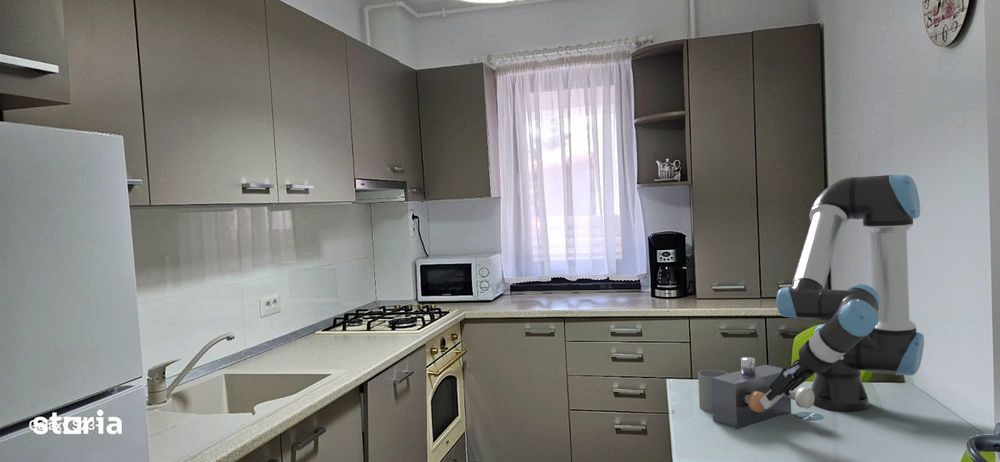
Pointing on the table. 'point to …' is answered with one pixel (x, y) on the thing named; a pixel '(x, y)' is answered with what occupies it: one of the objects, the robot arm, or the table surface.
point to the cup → (707, 388)
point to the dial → (748, 365)
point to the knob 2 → (802, 397)
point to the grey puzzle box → (732, 397)
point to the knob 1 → (755, 401)
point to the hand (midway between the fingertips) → (764, 404)
